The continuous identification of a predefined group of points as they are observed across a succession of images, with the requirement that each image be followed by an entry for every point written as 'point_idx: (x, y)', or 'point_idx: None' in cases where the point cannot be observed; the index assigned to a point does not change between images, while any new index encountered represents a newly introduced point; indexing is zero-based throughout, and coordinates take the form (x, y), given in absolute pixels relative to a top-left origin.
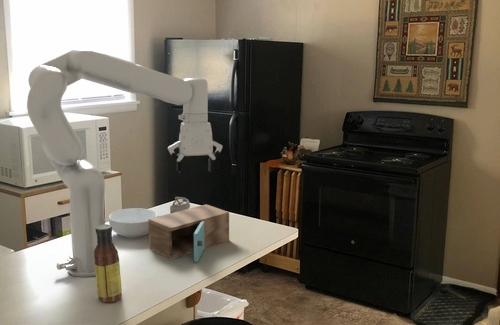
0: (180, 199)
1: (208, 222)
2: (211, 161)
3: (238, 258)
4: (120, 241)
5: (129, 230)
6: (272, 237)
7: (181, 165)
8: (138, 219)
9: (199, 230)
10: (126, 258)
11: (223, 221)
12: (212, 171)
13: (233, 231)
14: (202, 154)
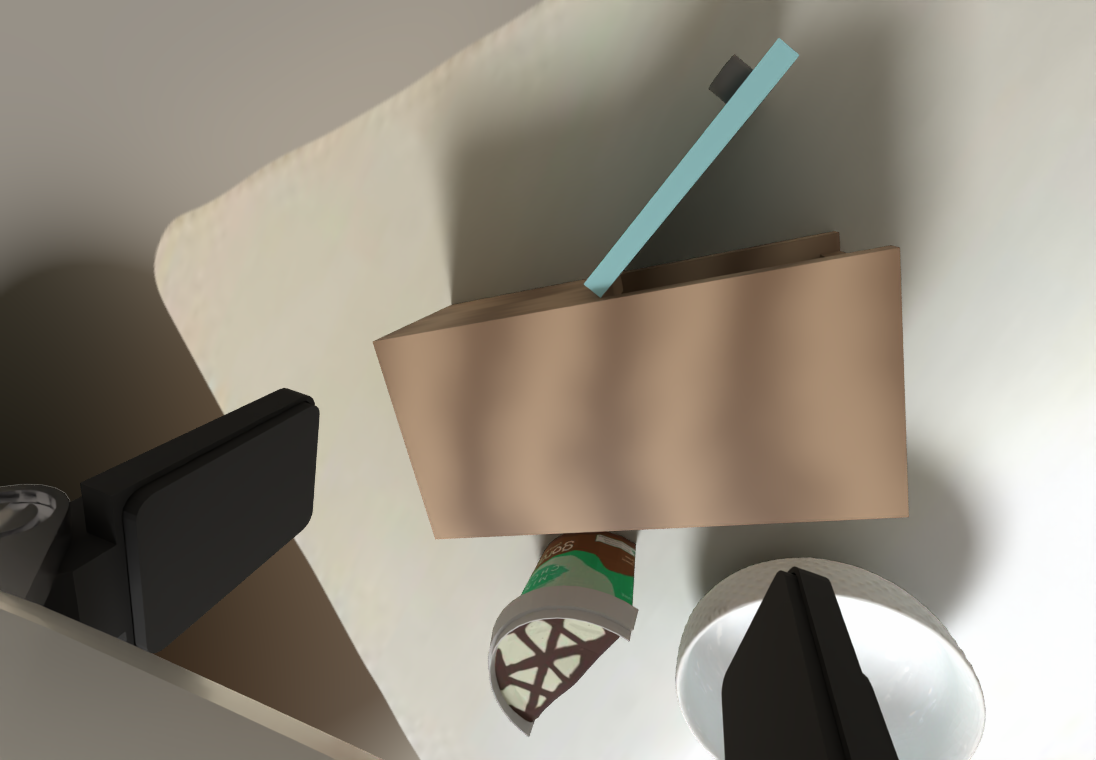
0: (513, 700)
1: (543, 305)
2: (133, 477)
3: (519, 44)
4: (915, 586)
5: (906, 593)
6: (263, 228)
7: (848, 706)
8: None
9: (705, 130)
10: (1044, 370)
11: (438, 322)
12: (283, 389)
13: (387, 393)
14: (131, 665)
